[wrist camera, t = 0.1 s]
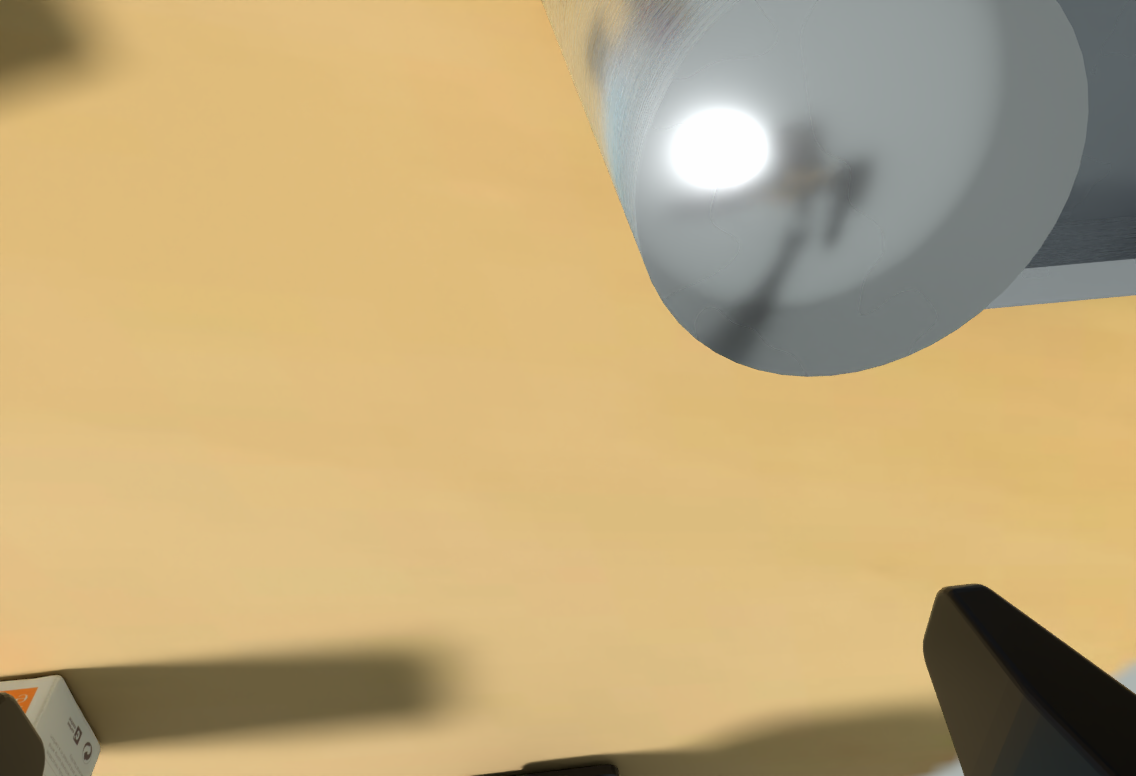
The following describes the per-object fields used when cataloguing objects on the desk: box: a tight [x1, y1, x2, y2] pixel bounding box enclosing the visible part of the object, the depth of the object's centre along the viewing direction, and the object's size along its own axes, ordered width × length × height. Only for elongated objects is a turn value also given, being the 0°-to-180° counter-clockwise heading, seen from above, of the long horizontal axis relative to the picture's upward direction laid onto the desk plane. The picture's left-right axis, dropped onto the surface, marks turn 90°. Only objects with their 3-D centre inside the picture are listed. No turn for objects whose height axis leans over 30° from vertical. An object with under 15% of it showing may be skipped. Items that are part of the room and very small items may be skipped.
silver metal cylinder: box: [542, 0, 1089, 377], centre depth 14 cm, size 4×4×12 cm
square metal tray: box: [985, 0, 1136, 309], centre depth 19 cm, size 12×12×3 cm
